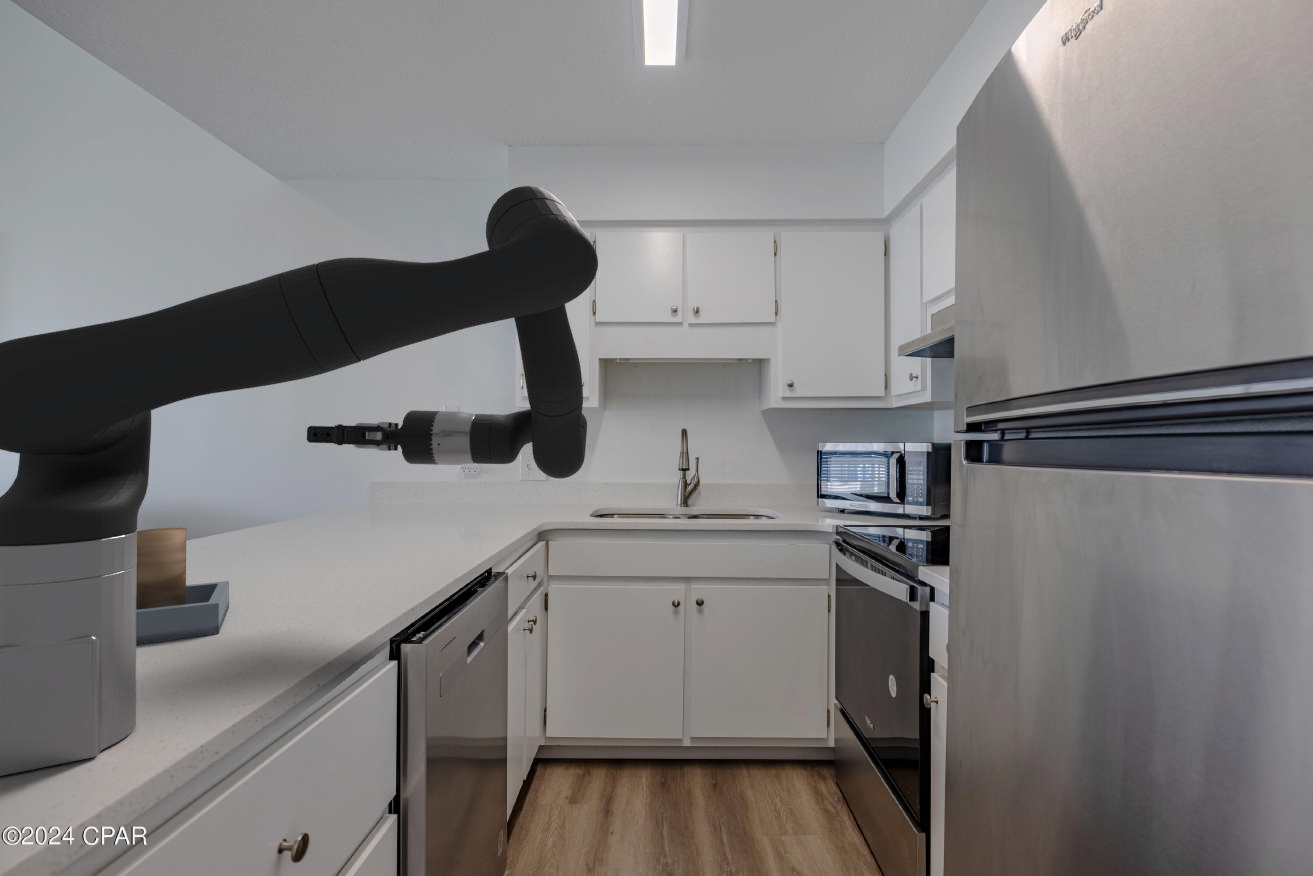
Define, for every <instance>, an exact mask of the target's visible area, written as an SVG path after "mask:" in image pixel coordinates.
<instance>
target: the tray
mask: <svg viewBox="0 0 1313 876" xmlns="http://www.w3.org/2000/svg"><path fill="white" fill-rule="evenodd" d="M229 609H230V580H223V581H214V582H204V583H193V584H186V605H177V606H168V607H159V608H149V609H140V610H136V646H137V645H143V644H144V645H145V644H151V643H158V642H165V641H167V642H168V641H173V640H174V641H175V640H180V639H181V640H182V639H189V638H190V639H191V638H196V637H197V638H198V637H203V636H211V635H219V634H220V631H221V629H222V626H223V624H224V621H225V619H226V616H227V614H228V612H229Z"/></svg>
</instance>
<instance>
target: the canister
mask: <svg viewBox="0 0 1313 876" xmlns="http://www.w3.org/2000/svg"><path fill="white" fill-rule="evenodd" d="M136 565H137V589H136V610H140V609H149V608H159V607H168V606H177V605H186V585H187V528H186V527H162V528H161V527H160V528H159V527H158V528H150V529H143V530H137V564H136Z"/></svg>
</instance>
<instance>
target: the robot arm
mask: <svg viewBox="0 0 1313 876" xmlns="http://www.w3.org/2000/svg"><path fill="white" fill-rule="evenodd" d="M485 224H486V225H485V236H486V237H485V238H486V243H487V248H488V250H485V251H484V250H483V251H480V252H476V253H474V254H471V255H466V256H464V257H461V258H459V257H458V258H456V259H455V258H454V259H449V260H443V261H435V262H433V261H432V262H421V261H420V262H419V261H408V260H407V261H405V260H395V259H385V258H373V257H339V258H334V259H328V260H327V259H326V260H324V261H319V262H317V263H312V264H307V265H305V266H304V265H303V266H301V267H297V268H293V269H290V270H287V271H282V272H279V273H276V274H273V275H270V276H267V277H263V278H261V279H258V280H254V281H252V282H248V283H244V284H241V285H238V286H234V287H230V288H227V289H224V290H220V291H216V292H213V293H210V294H207V295H203V296H200V297H196V298H194V299H190V300H187V301H184V302H182V303H178V304H175V305H172V306H169V307H166V308H162V309H159V310H157V311H156V310H155V311H153V312H149V313H144V314H142V315H137V316H132V317H128V318H123V319H119V320H113V321H109V322H107V321H106V322H103V323H97V324H96V323H95V324H90V325H87V326H86V325H85V326H79V327H75V328H74V327H73V328H69V329H63V330H62V329H61V330H57V331H51V332H45V333H39V334H34V335H29V336H23V337H18V338H13V339H8V340H6V341H2V342H0V450H1V451H6V452H9V453H14V454H15V453H16V454H19V458H18V459H19V460H18V466H17V467H18V468H17V472H16V473H17V474H16V476H15V478H14V481H13V482H12V484H11V486H10V487H9V488H8V490H6V492H5V493H4V494H2V495H1V496H0V777H1V776H6V775H10V774H16V773H21V772H26V771H32V770H36V769H41V768H45V767H50V766H51V767H52V766H56V765H61V764H62V765H63V764H67V763H71V762H77V761H81V760H85V759H90V758H95V757H97V756H98V755H99V754H100V752H101V751H103V750H104V749H106V748H108V747H110V746H112V745H115V744H116V743H118V742H120V741H121V740H123V739H124V738H126V737H127V736H129V735H130V734H131V733H132V732H133V731H134V729H135V728H136V726H137V645H136V589H137V565H136V564H137V532H138V516H139V515H138V514H139V511H140V509H141V506H142V504H143V502H144V500H145V498H146V494H147V490H148V486H149V475H150V456H151V444H152V443H151V442H152V411H153V410H156V409H160V408H162V407H164V406H168V405H170V404H174V403H176V402H181V401H184V400H189V399H192V398H195V397H200V396H206V395H210V394H211V395H212V394H219V393H225V392H226V393H227V392H230V391H231V392H232V391H237V390H238V391H240V390H246V389H252V388H259V387H265V386H271V385H277V384H282V383H283V384H284V383H289V382H292V381H298V380H304V379H307V378H311V377H312V378H313V377H315V376H319V375H322V374H326V373H329V372H332V371H333V372H334V371H335V370H336V371H337V370H339V369H342V368H346V367H347V366H352V365H355V364H358V363H361V362H362V361H366V360H367V361H368V360H369V359H371V358H374V357H377V356H380V355H383V354H386V353H388V352H391V351H394V350H398V349H401V348H403V347H407V346H408V347H409V346H411V345H413V344H417V343H421V342H423V341H425V342H426V341H427V340H431V339H435V338H437V337H441V336H444V335H447V334H451V333H454V332H458V331H460V330H464V329H469V328H473V327H476V326H481V325H486V324H489V323H490V324H491V323H495V322H499V321H504V320H509V319H513V320H514V323H515V327H516V333H517V338H518V339H517V340H518V344H519V350H520V356H521V360H522V361H521V362H522V363H521V364H522V368H523V373H524V381H525V387H526V388H525V389H526V393H527V399H528V403H529V404H528V405H529V407H530V408H528V409H523V410H519V411H514V412H511V413H506V414H495V413H494V414H493V413H491V414H490V413H488V414H487V413H470V412H464V411H449V410H446V411H445V410H418V409H417V410H416V409H415V410H409V411H407V413H406V414H405V415H404V417H403V420H402V424H401V426H400V423H399V422H390V421H379V422H377V423H374V422H373V423H372V422H370V423H369V422H357V423H355V424H354V425H344V424H341V423H340V424H339V423H338V424H336V425H335V424H334V426H333V425H332V426H329V425H328V426H327V425H326V426H325V425H323V426H322V425H310V426H308V427H307V429H306V441H307V443H311V444H312V443H313V444H314V443H315V444H333V445H336V446H343V445H353V447H354V448H355V449H367V450H368V449H373V450H374V449H376V450H377V451H380V452H382V451H383V452H384V451H385V452H387V451H388V452H390V451H395V452H397V451H398V452H399V447H400V449H401V454H402V455H401V456H403V459H404V461H405V462H406V463H407V464H410V465H434V466H435V465H440V466H442V465H443V466H459V465H460V466H463V465H471V464H477V465H479V464H480V465H507V464H508V465H509V464H512V463H514V462H515V461H516V459H517V458H518V456H519V454H520V452H521V450H522V449H523V448H524V446H525V445H528V444H531V447H532V448H531V449H532V450H531V451H532V458H533V460H534V463H535V465H536V466H537V468H538V470H539V471H541V472H542V473H543V474H545V475H546V476H548V477H551V478H553V479H567V478H570V477H572V476H573V475H575V474H577V473H578V472H579V471H580V470H581V468H582V466H583V464H584V462H585V458H586V447H587V435H588V421H587V419H586V418H587V417H586V416H585V414H584V413H583V408H584V407H583V406H584V389H583V377H582V369H581V367H582V366H581V361H580V358H579V353H578V349H577V345H576V342H575V339H574V336H573V331H572V329H571V325H570V324H571V323H570V321H569V318H568V317H569V316H568V313H567V307H566V304H568V303H570V302H572V301H573V300H575V299H577V298H578V297H580V296H581V295H582V294H583V293H584V292H586V291H587V290H588V289H589V287H590V286H591V284H592V283H593V282H594V280H595V279H596V275H597V272H598V269H599V268H598V267H599V258H598V255H597V251H596V249H595V246H594V244H593V242H591V240H590V238H589V236H588V235H587V234H586V232H585V231H584V230H583V228H582V227H581V225H580V224H579V222H578V221H577V220H576V218H575V217H574V216H573V214H572V213H571V212H570V211H569V209H568V207H567V206H566V205H565V204H564V203H563V202H562V201H561V200H560V199H559V198H558V197H556V195H554V194H552V193H551V192H550V191H549V190H546V189H544V188H541V187H538V186H532V185H524V186H523V185H522V186H516V187H515V188H512V189H510V190H507V191H506V192H504V193H502V195H501V196H500V197H498V198H497V199H496V201H495V202H494V203H493V204H492V206H491V208H490V210H489V213H488V215H487V218H486V222H485Z"/></svg>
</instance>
